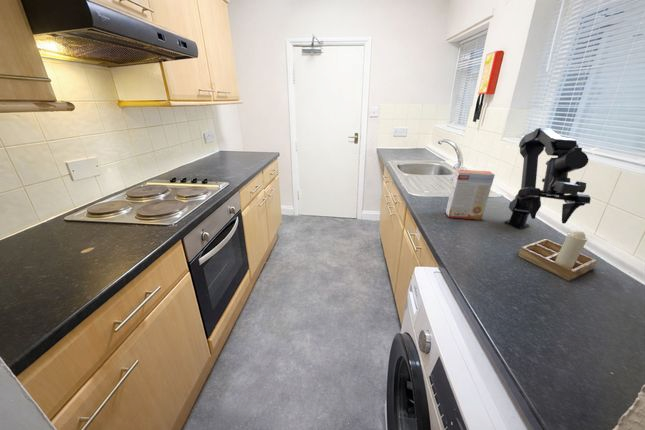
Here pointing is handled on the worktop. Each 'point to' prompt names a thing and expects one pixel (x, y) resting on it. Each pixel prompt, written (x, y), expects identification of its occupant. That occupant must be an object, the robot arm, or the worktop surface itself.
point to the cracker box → (469, 194)
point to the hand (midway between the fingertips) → (548, 221)
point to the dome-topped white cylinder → (571, 249)
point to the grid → (546, 255)
